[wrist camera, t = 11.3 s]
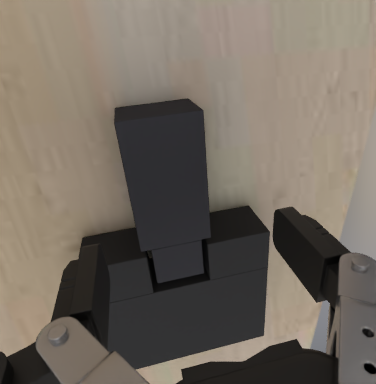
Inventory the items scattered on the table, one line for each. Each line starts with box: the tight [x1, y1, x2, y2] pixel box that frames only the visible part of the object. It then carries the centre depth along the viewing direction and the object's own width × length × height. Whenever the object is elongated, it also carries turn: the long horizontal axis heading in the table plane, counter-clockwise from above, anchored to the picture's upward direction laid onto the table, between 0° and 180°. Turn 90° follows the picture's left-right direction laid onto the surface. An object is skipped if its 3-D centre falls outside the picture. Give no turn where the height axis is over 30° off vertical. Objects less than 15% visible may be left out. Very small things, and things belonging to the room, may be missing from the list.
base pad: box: [79, 206, 270, 369], centre depth 25 cm, size 14×12×4 cm
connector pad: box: [114, 99, 211, 283], centre depth 21 cm, size 5×12×4 cm, turn 5°
